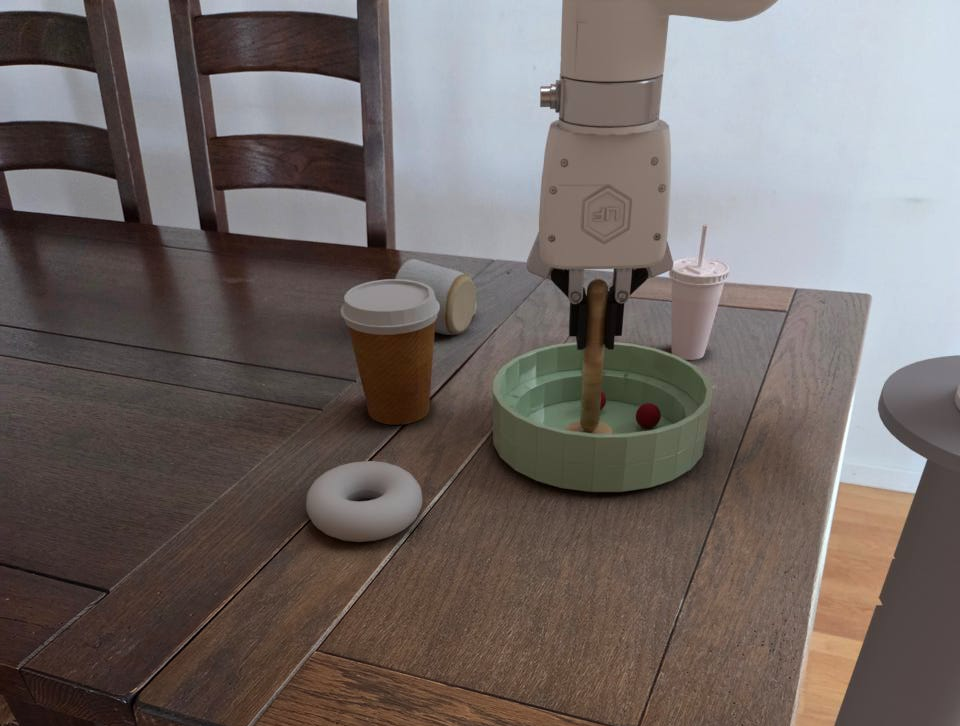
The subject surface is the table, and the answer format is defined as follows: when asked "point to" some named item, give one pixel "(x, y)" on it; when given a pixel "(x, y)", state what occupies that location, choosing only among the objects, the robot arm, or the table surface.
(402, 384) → the disposable coffee cup
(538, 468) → the bowl
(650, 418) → the cherry
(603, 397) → the cherry
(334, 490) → the donut
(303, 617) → the table surface
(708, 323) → the smoothie
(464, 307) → the ceramic mug
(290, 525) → the table surface
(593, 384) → the stirrer
